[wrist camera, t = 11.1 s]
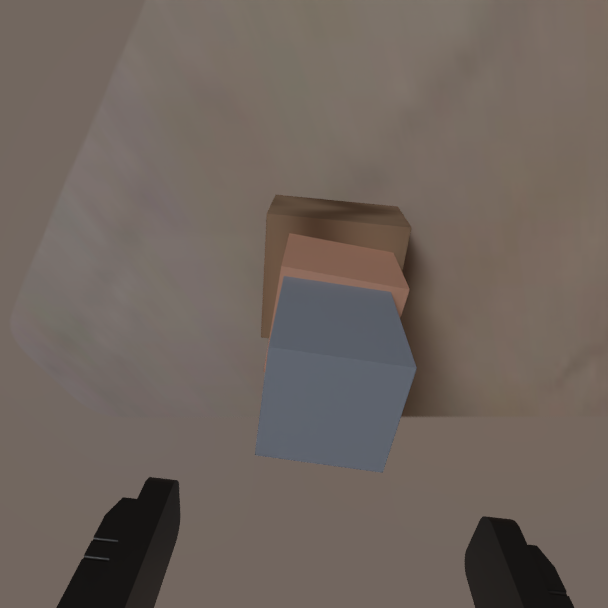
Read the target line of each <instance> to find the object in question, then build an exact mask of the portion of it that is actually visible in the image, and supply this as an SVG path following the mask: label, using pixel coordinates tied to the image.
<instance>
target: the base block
mask: <svg viewBox="0 0 608 608" xmlns="http://www.w3.org/2000/svg"><path fill="white" fill-rule="evenodd" d="M410 232H411V226H410V225H409V223H408V222H407V220H406V219H405V217H404V215H403V214H402V212H401V211H400V209H399V208H398V207H396V206H385V205H375V204H365V203H355V202H344V201H334V200H324V199H314V198H303V197H293V196H283V195H275V198H274V200H273V202H272V204H271V206H270V208H269V210H268V212H267V221H266V242H265V264H264V285H263V306H262V327H261V337H263V338H269V336H270V330H271V325H272V319H273V313H274V307H275V301H276V295H277V289H278V283H279V277H280V271H281V265H282V261H283V257H284V253H285V249H286V245H287V241H288V237H289V233H291V234H297V235H302V236H307V237H313V238H318V239H323V240H329V241H334V242H339V243H344V244H350V245H355V246H360V247H366V248H371V249H376V250H382V251H387V252H392V253H394V255H395V257H396V259H397V262H398V264H399V266H400V269H401V271H402V270H403V266H404V261H405V256H406V251H407V247H408V242H409V237H410Z"/></svg>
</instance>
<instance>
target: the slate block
mask: <svg viewBox="0 0 608 608" xmlns="http://www.w3.org/2000/svg"><path fill="white" fill-rule="evenodd" d="M416 369H417V368H416V365H415V362H414V359H413V356H412V353H411V350H410V347H409V344H408V341H407V338H406V335H405V332H404V329H403V326H402V323H401V320H400V317H399V314H398V311H397V309H396V306H395V303H394V300H393V297H392V294H391V292H388V291H381V290H375V289H368V288H361V287H355V286H348V285H341V284H335V283H328V282H321V281H315V280H308V279H301V278H295V277H288V276H284V277H283V282H282V287H281V291H280V296H279V300H278V305H277V310H276V314H275V319H274V323H273V328H272V333H271V337H270V342H269V346H268V354H267V362H266V370H265V378H264V386H263V394H262V402H261V410H260V418H259V426H258V434H257V442H256V451H255V455H258V456H265V457H273V458H280V459H288V460H294V461H302V462H310V463H317V464H324V465H331V466H338V467H345V468H353V469H360V470H367V471H375V472H383V470H384V467H385V464H386V461H387V458H388V455H389V452H390V448H391V445H392V442H393V439H394V436H395V433H396V430H397V427H398V424H399V421H400V418H401V415H402V412H403V409H404V406H405V403H406V400H407V396H408V393H409V390H410V387H411V384H412V381H413V378H414V375H415V372H416Z"/></svg>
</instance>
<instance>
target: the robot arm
mask: <svg viewBox="0 0 608 608" xmlns="http://www.w3.org/2000/svg"><path fill="white" fill-rule="evenodd" d="M179 525H180V499H179V482H178V481H177V480H170V479H161V478H152V477H149V478H148V479H147V480H146V482H145V484H144V486H143V488H142V490H141V492H140V494H139V497H138V499H132V498H122V499H121V500H120V501H119V502H118V503H117V504H116V505H115V506H114V507H113V508H112V509H111V510H110V511H109V512H108V513H107V514H106V515H105V516H104V518H103V521H102V522H101V524H100V526H99V528H98V530H97V532H96V533H95V535H94V539H93V541H91V543H90V545H89V547H88V549H87V551H86V553H85V555H84V558H83V559H82V560H81V562H80V564H79V566H78V568H77V570H76V572H75V573H74V575H73V577H72V579H71V581H70V583H69V585H68V587H67V589H66V591H65V592H64V594H63V597H62V598H61V600H60V602H59V604H58V606H57V608H154V606H155V603H156V599H157V596H158V594H159V591H160V587H161V585H162V582H163V579H164V576H165V573H166V570H167V567H168V564H169V561H170V558H171V555H172V552H173V549H174V546H175V543H176V540H177V536H178V531H179ZM465 572H466V576H467V580H468V584H469V587H470V591H471V594H472V597H473V601H474V605H475V608H574V606H573V604H572V602H571V600H570V598H569V596H567V595H566V590H565V588H564V585H563V583H562V581H561V579H560V577H559V575H558V573H557V571H556V569H555V567H554V566H553V565H552V564H551V562H550V561H549V560H548V559H547V557H546V556H545V555H544V554H543V553H542V551H541V550H540V549H539V548H538V547H537V546H535V545H527V543H526V541H525V538H524V536H523V534H522V532H521V530H520V527H519V526H518V524H517V523H516V522H515V521H514V520H511V519H502V518H493V517H482V518H481V519H480V521H479V524H478V526H477V528H476V530H475V532H474V534H473V537H472V539H471V541H470V544H469V546H468V548H467V550H466V554H465Z"/></svg>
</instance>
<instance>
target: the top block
mask: <svg viewBox="0 0 608 608" xmlns="http://www.w3.org/2000/svg"><path fill="white" fill-rule="evenodd" d="M284 276H288V277H295V278H301V279H308V280H315V281H321V282H328V283H335V284H341V285H348V286H355V287H361V288H368V289H375V290H381V291H388V292H391V294H392V297H393V300H394V303H395V306H396V309H397V311H398V314H399V317H400V318H401V315H402V312H403V309H404V306H405V303H406V299H407V296H408V293H409V290H410V289H409V287H408V284H407V282H406V280H405V278H404V275H403V273H402V271H401V269H400V266H399V264H398V262H397V259H396V257H395V255H394V253H392V252H387V251H382V250H376V249H371V248H366V247H360V246H355V245H350V244H344V243H339V242H334V241H329V240H323V239H318V238H313V237H307V236H302V235H297V234H291V233H289V237H288V241H287V245H286V249H285V253H284V257H283V261H282V265H281V271H280V277H279V283H278V289H277V295H276V301H275V307H274V313H273V319H272V325H271V330H270V336H269V342H270V337H271V333H272V328H273V323H274V319H275V314H276V310H277V305H278V300H279V296H280V291H281V287H282V282H283V277H284ZM269 342H268V346H269ZM267 354H268V348H267ZM267 354H266V360H265V366H264V372H265V370H266V362H267Z"/></svg>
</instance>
